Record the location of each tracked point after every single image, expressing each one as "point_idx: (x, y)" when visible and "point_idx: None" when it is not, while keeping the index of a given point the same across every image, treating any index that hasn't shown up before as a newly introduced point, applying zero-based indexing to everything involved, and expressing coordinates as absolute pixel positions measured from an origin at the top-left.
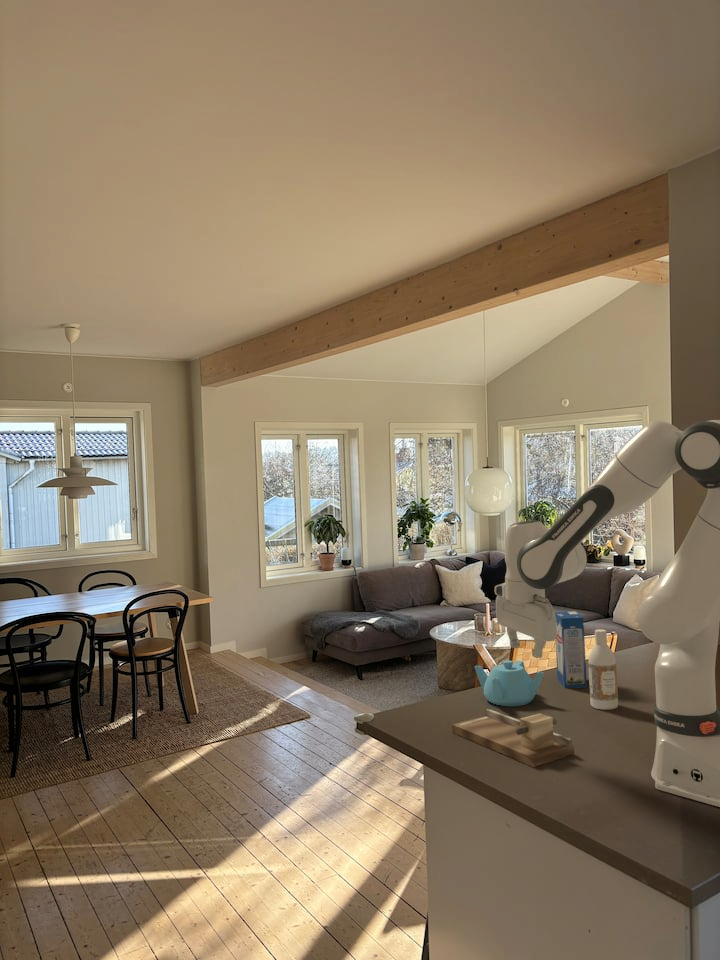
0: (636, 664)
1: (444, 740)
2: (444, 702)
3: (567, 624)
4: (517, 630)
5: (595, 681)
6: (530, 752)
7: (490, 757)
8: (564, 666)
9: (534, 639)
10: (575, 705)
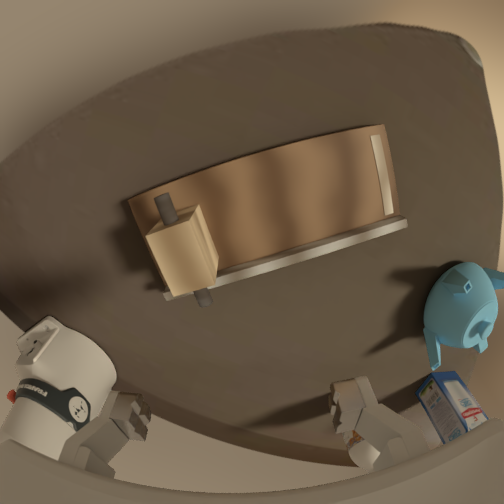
0: None
1: (340, 88)
2: (490, 196)
3: None
4: (243, 501)
5: None
6: (155, 206)
7: (209, 134)
8: (443, 393)
9: (83, 461)
10: (376, 369)
